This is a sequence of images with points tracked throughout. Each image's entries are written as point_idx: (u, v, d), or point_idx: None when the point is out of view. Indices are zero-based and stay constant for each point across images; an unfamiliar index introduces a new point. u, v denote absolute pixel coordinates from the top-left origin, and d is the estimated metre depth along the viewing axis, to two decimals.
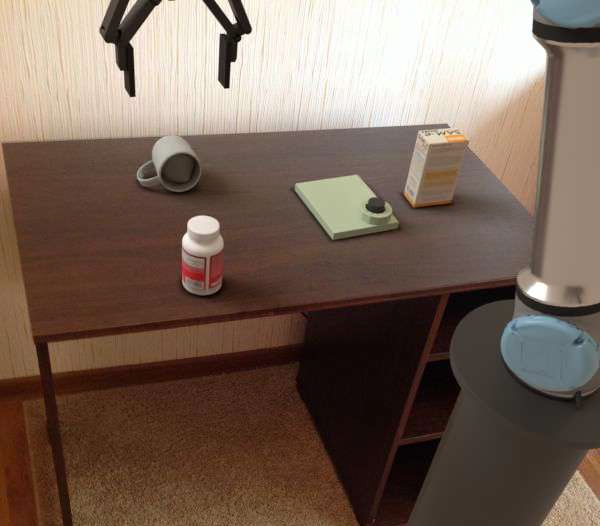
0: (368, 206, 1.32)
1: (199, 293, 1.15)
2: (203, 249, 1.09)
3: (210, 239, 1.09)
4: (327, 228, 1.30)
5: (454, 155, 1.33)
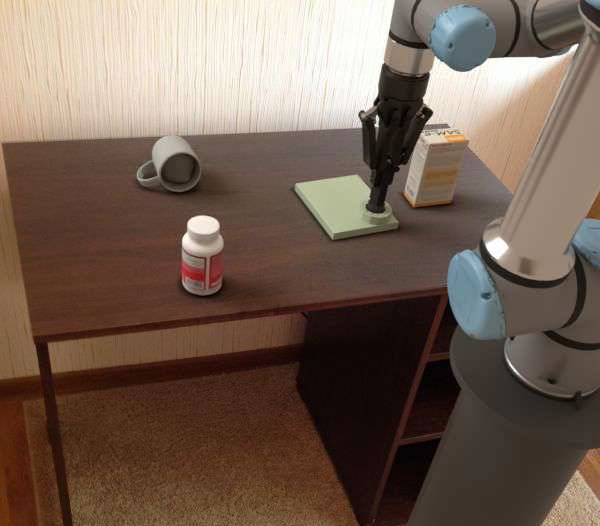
0: (368, 207, 1.32)
1: (199, 293, 1.15)
2: (203, 249, 1.09)
3: (210, 239, 1.09)
4: (327, 228, 1.30)
5: (454, 155, 1.33)
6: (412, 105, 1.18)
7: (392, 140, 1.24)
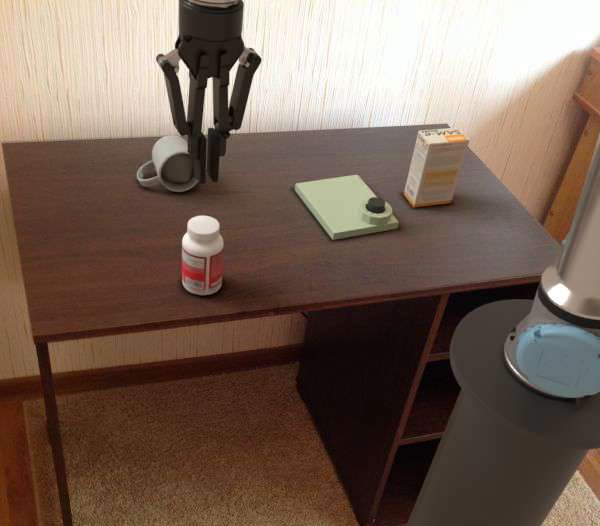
0: (368, 206, 1.32)
1: (199, 293, 1.15)
2: (203, 249, 1.09)
3: (210, 239, 1.09)
4: (327, 228, 1.30)
5: (454, 155, 1.33)
6: (228, 49, 0.91)
7: (215, 97, 0.96)
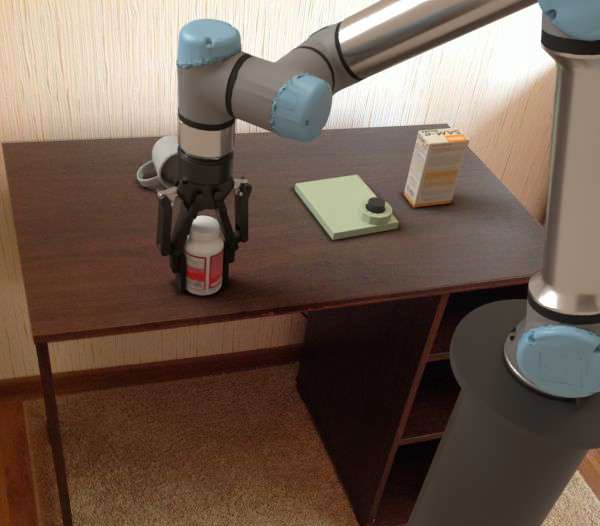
0: (368, 206, 1.32)
1: (199, 293, 1.15)
2: (203, 249, 1.09)
3: (210, 239, 1.09)
4: (327, 228, 1.30)
5: (454, 155, 1.33)
6: (220, 187, 1.05)
7: (219, 220, 1.10)
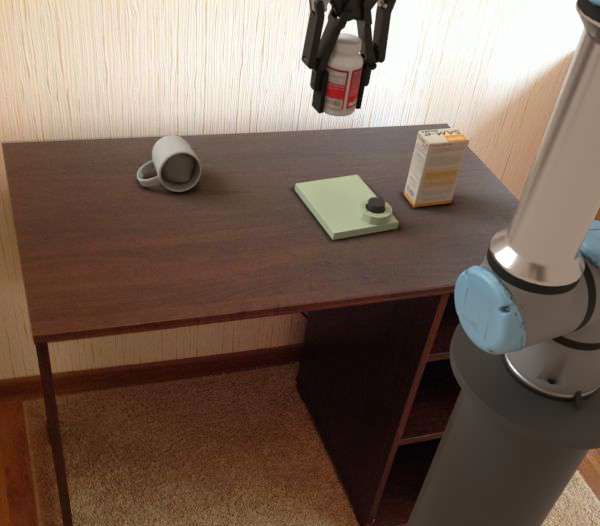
0: (368, 206, 1.32)
1: (336, 113, 1.20)
2: (346, 62, 1.14)
3: (353, 52, 1.14)
4: (327, 228, 1.30)
5: (454, 155, 1.33)
6: None
7: (360, 36, 1.16)
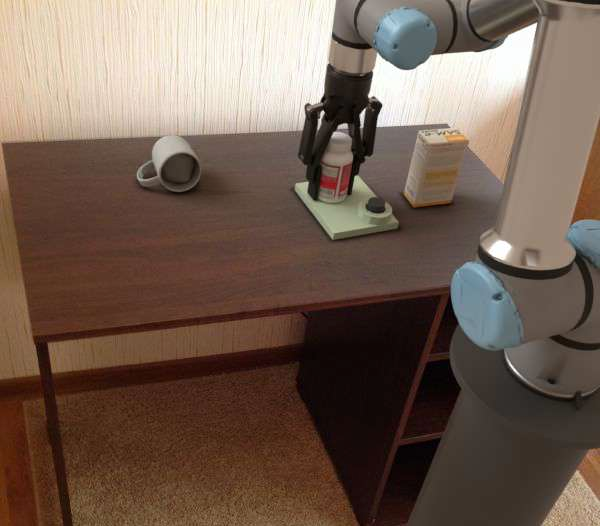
0: (368, 206, 1.32)
1: (329, 201, 1.34)
2: (338, 159, 1.28)
3: (344, 150, 1.28)
4: (327, 228, 1.30)
5: (454, 155, 1.33)
6: (358, 103, 1.24)
7: (350, 135, 1.29)
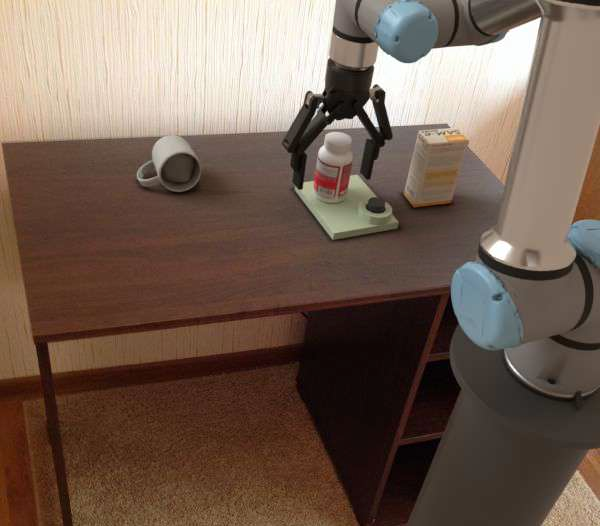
0: (368, 206, 1.32)
1: (329, 201, 1.34)
2: (338, 159, 1.28)
3: (344, 150, 1.28)
4: (327, 228, 1.30)
5: (454, 155, 1.33)
6: (359, 98, 1.23)
7: (363, 124, 1.29)
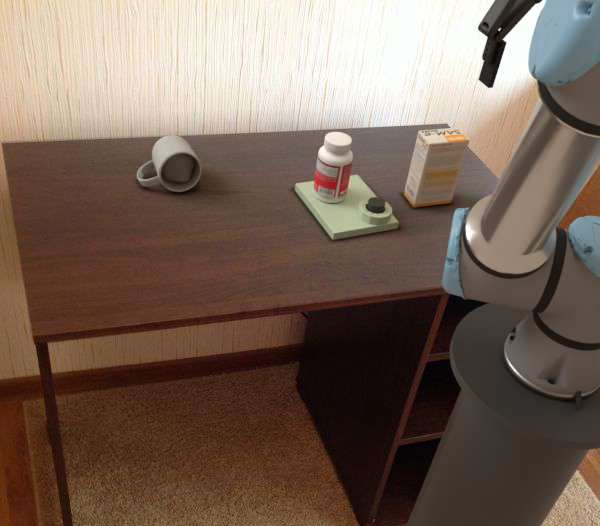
0: (368, 206, 1.32)
1: (329, 201, 1.34)
2: (338, 159, 1.28)
3: (344, 150, 1.28)
4: (327, 228, 1.30)
5: (454, 155, 1.33)
6: None
7: None
